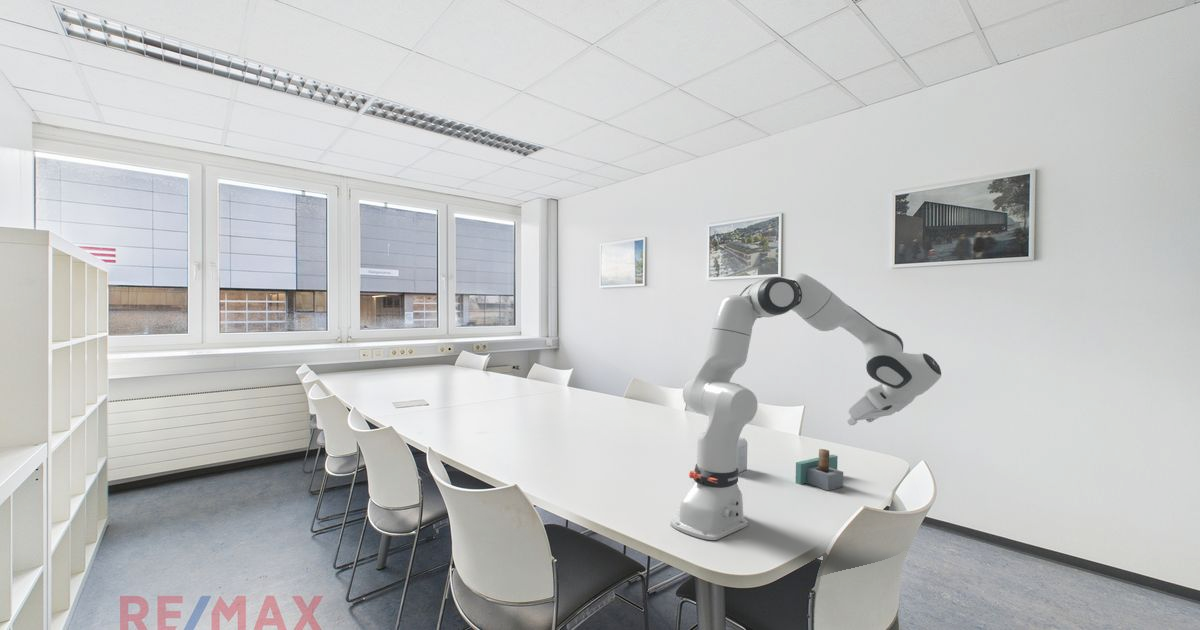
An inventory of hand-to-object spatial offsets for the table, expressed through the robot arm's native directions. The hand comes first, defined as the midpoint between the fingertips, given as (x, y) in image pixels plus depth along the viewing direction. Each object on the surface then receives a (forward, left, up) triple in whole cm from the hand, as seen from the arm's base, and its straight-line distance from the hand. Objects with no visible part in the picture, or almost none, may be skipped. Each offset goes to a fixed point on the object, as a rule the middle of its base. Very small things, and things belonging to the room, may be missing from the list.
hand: (859, 421), depth 150 cm
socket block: (+4, +11, -24) cm, 27 cm away
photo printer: (-4, +39, -24) cm, 46 cm away
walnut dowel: (+4, +11, -22) cm, 25 cm away
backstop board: (+9, +15, -24) cm, 30 cm away
